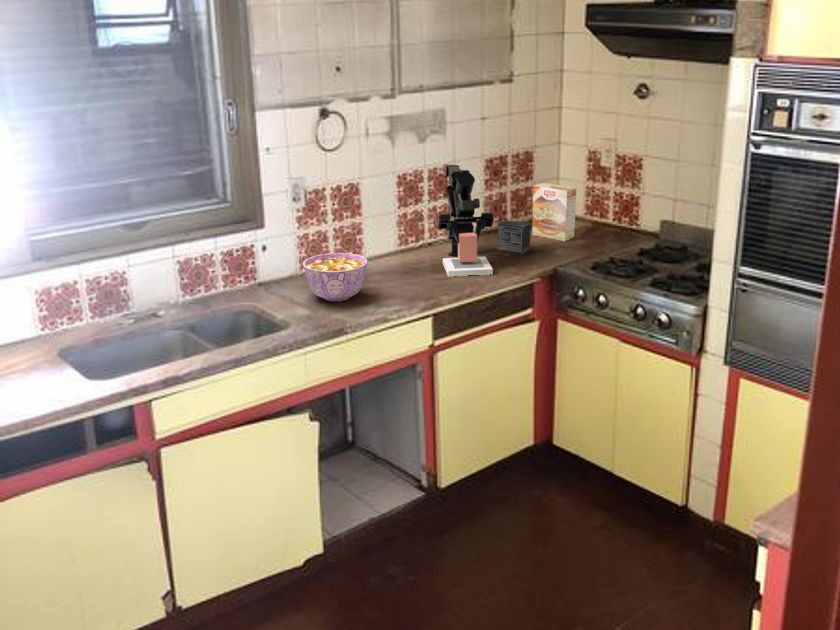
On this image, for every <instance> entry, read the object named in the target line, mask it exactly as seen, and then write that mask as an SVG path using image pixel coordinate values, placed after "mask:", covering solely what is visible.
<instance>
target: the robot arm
mask: <svg viewBox="0 0 840 630" xmlns="http://www.w3.org/2000/svg"><path fill="white" fill-rule="evenodd" d="M445 166H446V178H447V176H449V184H451V185H450V186H448V187H446V192H447V197H446V199H447V203H448V207H449V211H450V213H440V214H439V215H438V217H437V228H438V229H439V230H445V229H446V237H447V239H448V240H451V241H450V243H451V250H450V252H448V253H447V255H448V256H453V257H458V243H459V234H458V233H474V227H475V233H476V234H477V244H478V243H479V239H480V233H481V231H482V230H484V229H485V228H490V227H491V228H492V226H493V224H494V223H493V222H494V221H495V216H494V213H493V212H492V211H490V212H489V211H488V212H485V211H484V212H481V214H480V216H474V215H475V211H476V209H480V207H481V204H480V202H481V201H480V198H479V197H478V198H476V197H475V198H473V199H472V192H473V189H474V185H475V182H476V179H475V177H474V175H473V174H472V173H470V170H468V169H465V170H464V169H461V168H460V165H458V164H447V165H445ZM474 224H476V225H474Z"/></svg>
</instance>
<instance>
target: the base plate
mask: <svg viewBox="0 0 840 630" xmlns="http://www.w3.org/2000/svg"><path fill="white" fill-rule="evenodd" d="M442 265H443V268H444V270H445V272H446V274H447V277H449V278H452V277H454V276H457V277H469V276H468V275H480V276H493V275H494V274H493V273H494V269H493V267H492V266H491V263H490V262H489V260H488V259H487V257H486V256H477V261H475V262H459V260H458V257H445V258H442ZM490 274H491V275H490Z"/></svg>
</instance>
